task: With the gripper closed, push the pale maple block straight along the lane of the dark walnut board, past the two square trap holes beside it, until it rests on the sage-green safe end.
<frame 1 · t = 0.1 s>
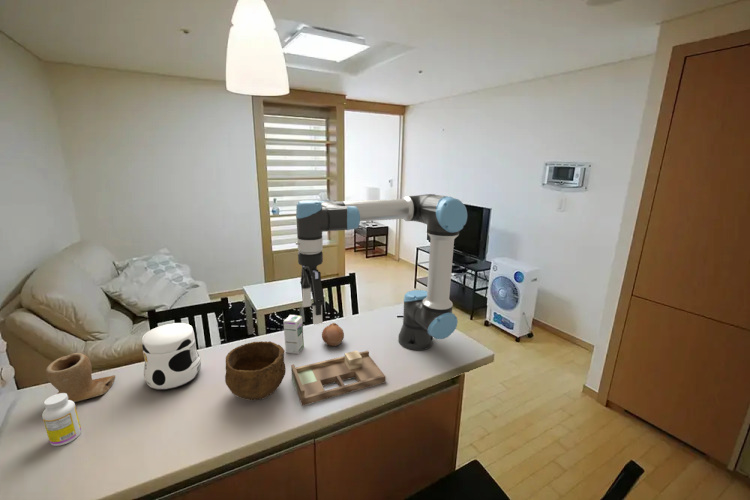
hand: (312, 314, 109), 28 cm above the kitchen counter, tool pointing down, fingers open, 13 cm apart
supplement bottle: (66, 438, 94), on the kitchen counter
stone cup: (84, 397, 111), on the kitchen counter
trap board: (337, 379, 122), on the kitchen counter
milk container: (175, 379, 121), on the kitchen counter
bowl: (258, 393, 114), on the kitchen counter
maple block: (353, 364, 126), point 2 cm above the kitchen counter, touching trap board
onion: (333, 344, 145), on the kitchen counter
syrup box: (294, 350, 140), on the kitchen counter
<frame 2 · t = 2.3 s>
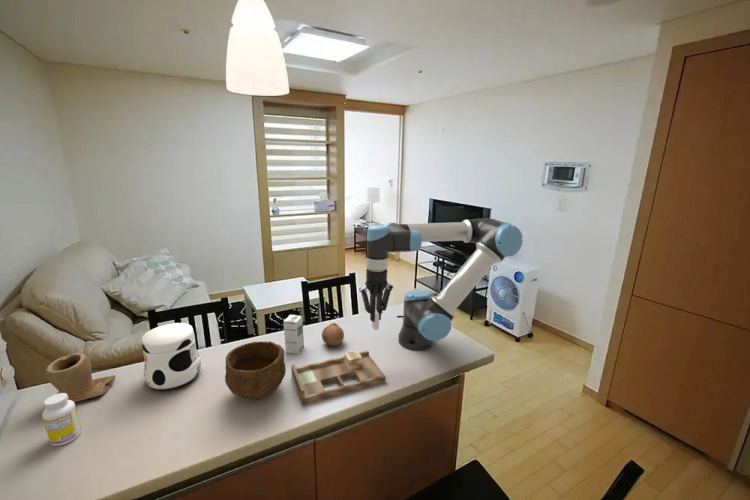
hand: (375, 328, 127), 16 cm above the kitchen counter, tool pointing down, fingers closed
nothing on the kitchen counter moved.
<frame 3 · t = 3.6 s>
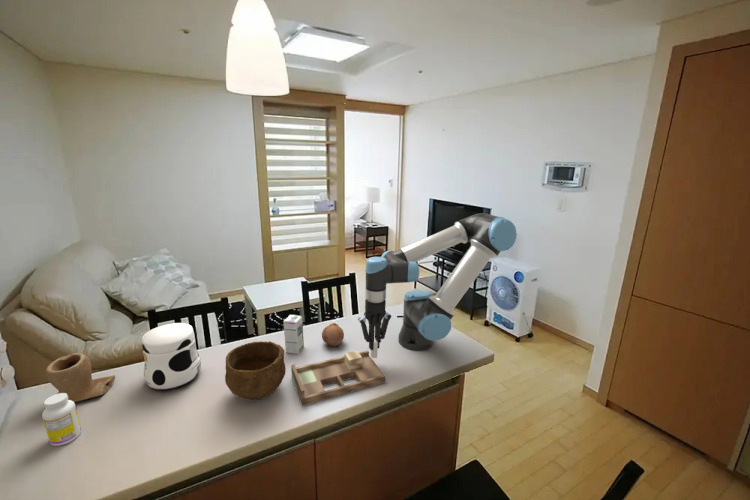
hand: (374, 356, 130), 4 cm above the kitchen counter, tool pointing down, fingers closed
nothing on the kitchen counter moved.
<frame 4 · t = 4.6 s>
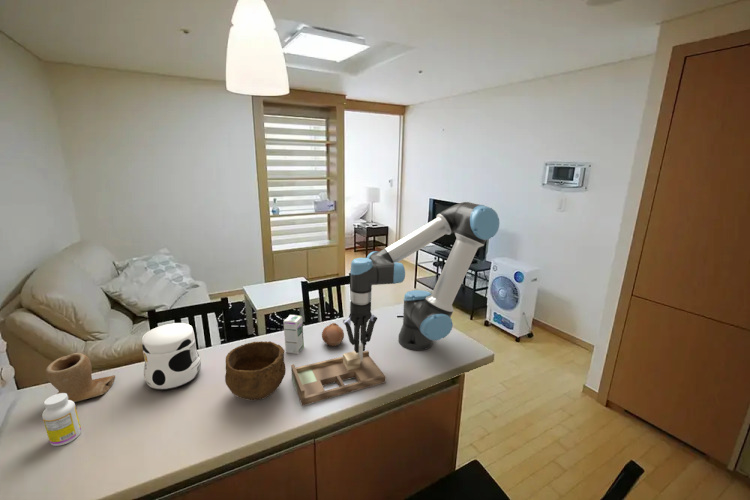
hand: (359, 359, 127), 4 cm above the kitchen counter, tool pointing down, fingers closed
maple block: (351, 365, 126), point 3 cm above the kitchen counter, touching gripper
everything else where it was.
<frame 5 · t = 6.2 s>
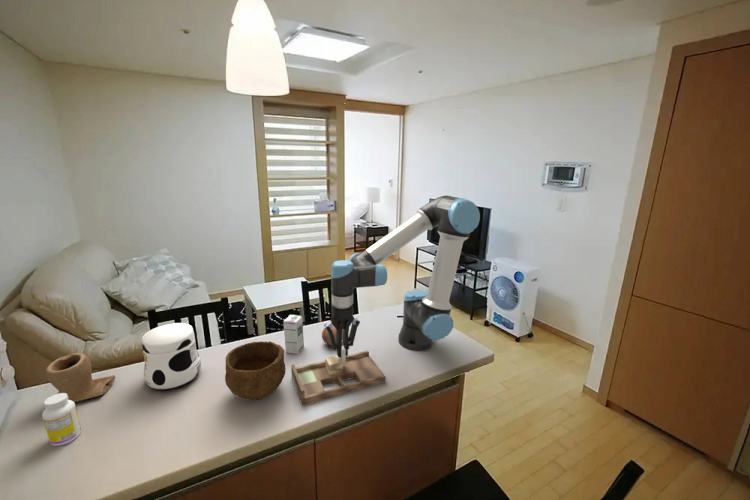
hand: (342, 363, 124), 4 cm above the kitchen counter, tool pointing down, fingers closed
maple block: (334, 369, 123), point 3 cm above the kitchen counter, touching gripper, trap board
everything else where it was.
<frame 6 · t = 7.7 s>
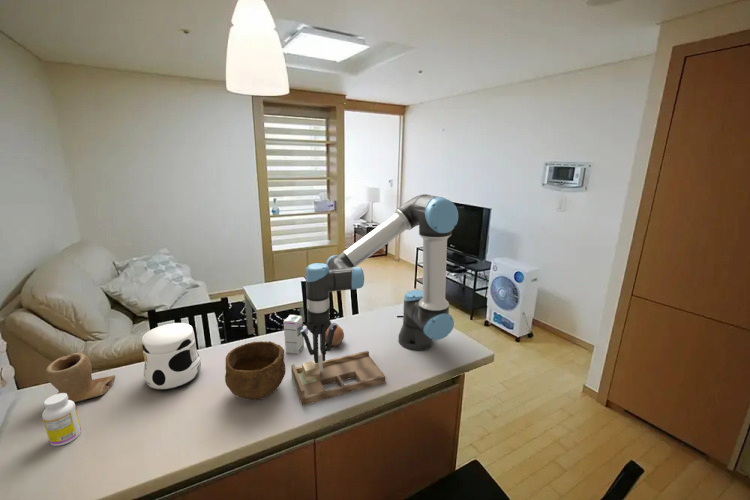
hand: (319, 369, 121), 4 cm above the kitchen counter, tool pointing down, fingers closed
maple block: (311, 375, 120), point 2 cm above the kitchen counter, touching gripper, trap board
everything else where it was.
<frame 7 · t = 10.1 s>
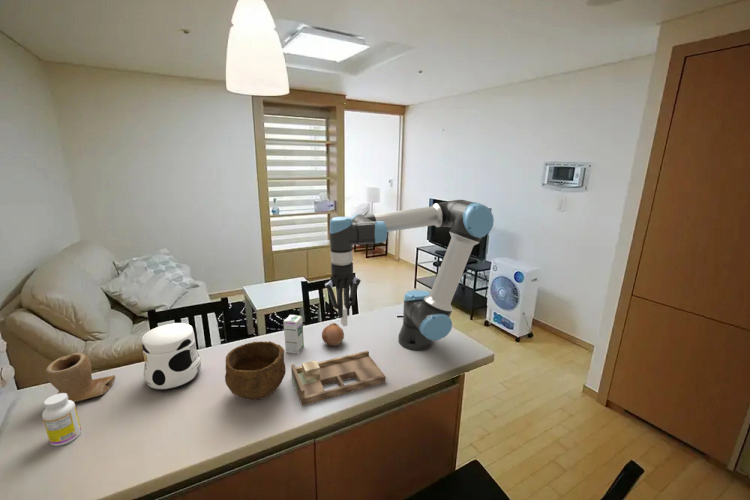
hand: (344, 324, 122), 19 cm above the kitchen counter, tool pointing down, fingers closed
maple block: (311, 375, 120), point 2 cm above the kitchen counter, touching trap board
everything else where it was.
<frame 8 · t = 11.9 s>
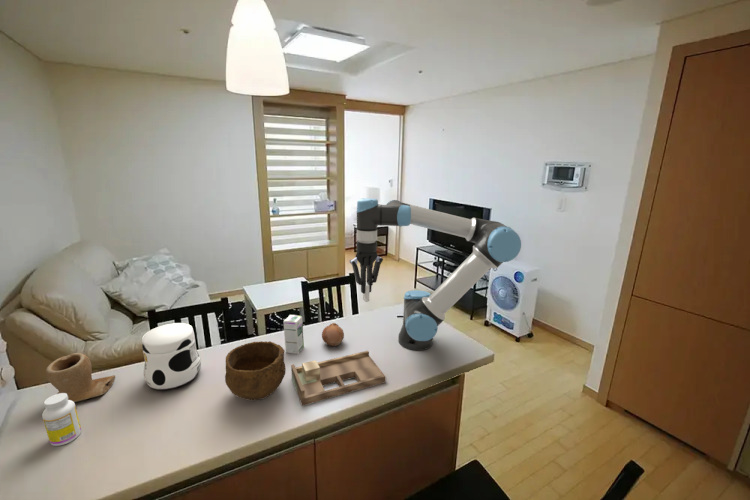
hand: (366, 300, 130), 24 cm above the kitchen counter, tool pointing down, fingers closed
nothing on the kitchen counter moved.
at the end: maple block inside the target area on the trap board (1.8 cm from its centre), point 2.5 cm above the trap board's base; maple block tilted 0° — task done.
